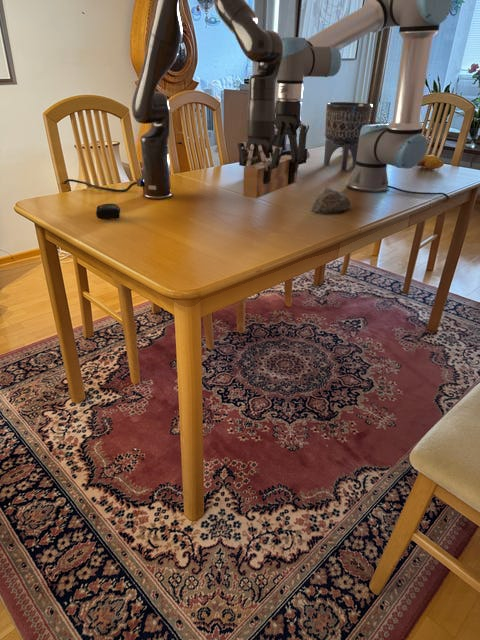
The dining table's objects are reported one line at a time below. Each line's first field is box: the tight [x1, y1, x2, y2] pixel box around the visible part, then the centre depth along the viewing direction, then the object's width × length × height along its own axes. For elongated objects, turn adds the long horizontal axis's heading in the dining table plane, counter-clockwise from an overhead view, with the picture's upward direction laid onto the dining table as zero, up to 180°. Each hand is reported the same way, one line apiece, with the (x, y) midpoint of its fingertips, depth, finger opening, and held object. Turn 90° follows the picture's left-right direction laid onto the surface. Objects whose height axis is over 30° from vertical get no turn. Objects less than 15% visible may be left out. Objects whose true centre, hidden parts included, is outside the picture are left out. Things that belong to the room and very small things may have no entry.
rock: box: [312, 187, 352, 214], centre depth 148 cm, size 13×9×6 cm, turn 131°
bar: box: [242, 155, 298, 199], centre depth 136 cm, size 24×4×8 cm, turn 146°
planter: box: [323, 101, 374, 172], centre depth 204 cm, size 20×20×26 cm
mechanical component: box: [238, 125, 311, 172], centre depth 191 cm, size 22×21×30 cm
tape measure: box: [95, 203, 121, 221], centre depth 137 cm, size 7×7×4 cm
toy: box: [416, 154, 445, 171], centre depth 211 cm, size 11×6×15 cm
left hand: (258, 181), depth 131 cm, fingers closed on bar, 4 cm apart
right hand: (283, 181), depth 143 cm, fingers closed on bar, 5 cm apart
